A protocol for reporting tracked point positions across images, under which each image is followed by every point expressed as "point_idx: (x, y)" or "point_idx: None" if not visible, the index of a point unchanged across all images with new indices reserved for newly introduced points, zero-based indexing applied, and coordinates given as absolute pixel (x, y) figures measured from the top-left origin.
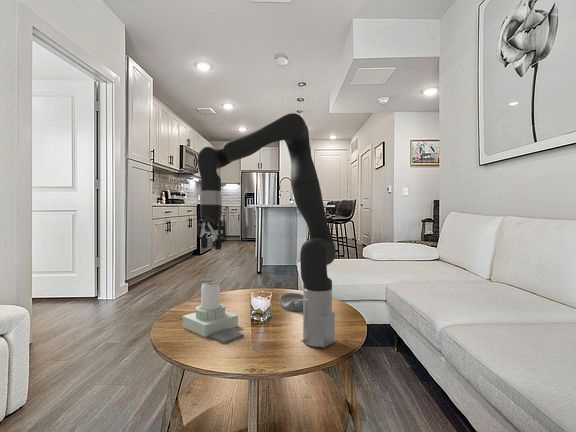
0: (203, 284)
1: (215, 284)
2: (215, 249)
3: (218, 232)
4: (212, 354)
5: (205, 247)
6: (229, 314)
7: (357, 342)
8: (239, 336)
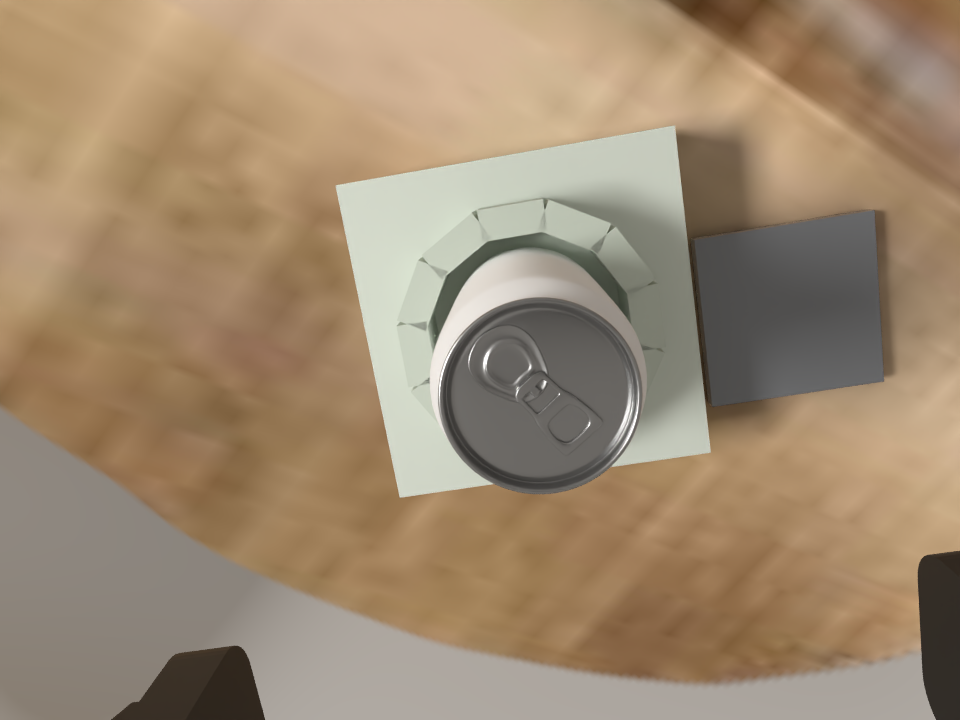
0: (537, 486)
1: (636, 375)
2: (933, 699)
3: None
4: (955, 494)
5: (254, 698)
6: (608, 179)
7: None
8: (873, 248)
